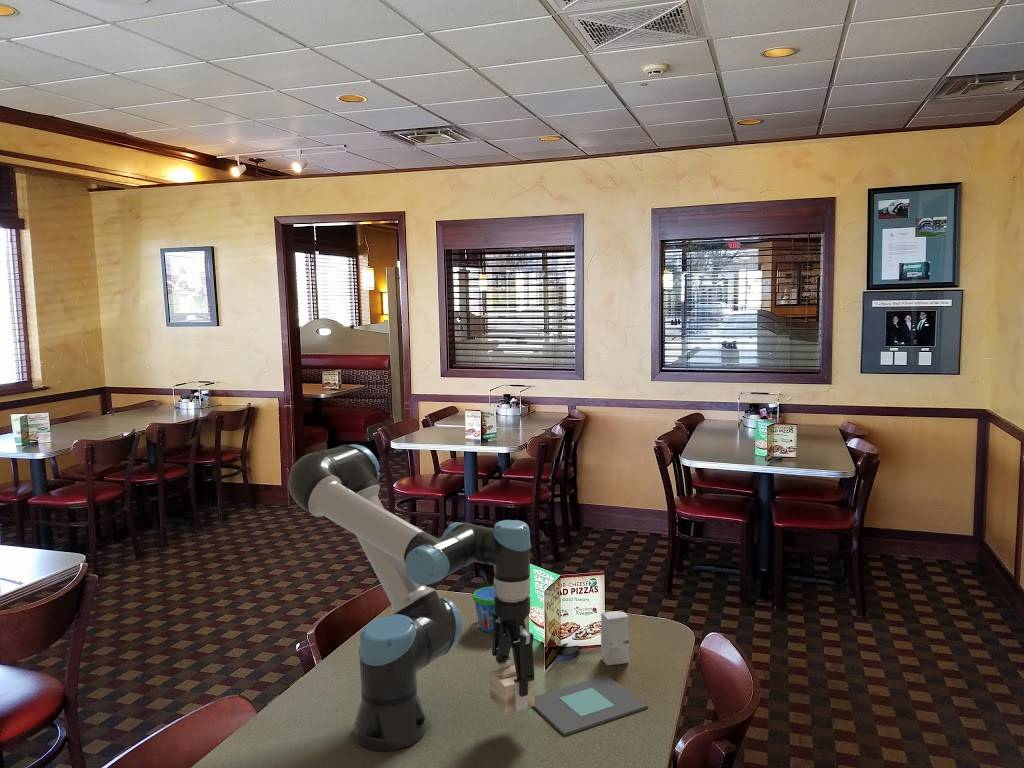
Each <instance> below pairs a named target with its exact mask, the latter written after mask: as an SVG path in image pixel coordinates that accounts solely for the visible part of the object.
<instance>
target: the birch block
mask: <svg viewBox="0 0 1024 768" xmlns="http://www.w3.org/2000/svg"><path fill="white" fill-rule="evenodd" d="M515 679H517V676H516V669H515V664H514V665H510V667H506V668H503V669H498V668H497V669H495V670H491V671H489V699H490V700H491V701H492V702H493V703H494V704H495V705H496V706H497V708H499V709H500V711H501V712H502V713H503V714H504V715H507V714H511V713H513V712H517V711H516V710H515V682H514V680H515ZM535 679H536V678H535V677H534V680H533V681H529V682H528V708H527V709H529V708H533V707H532V706H535V696H536V681H535Z"/></svg>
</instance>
